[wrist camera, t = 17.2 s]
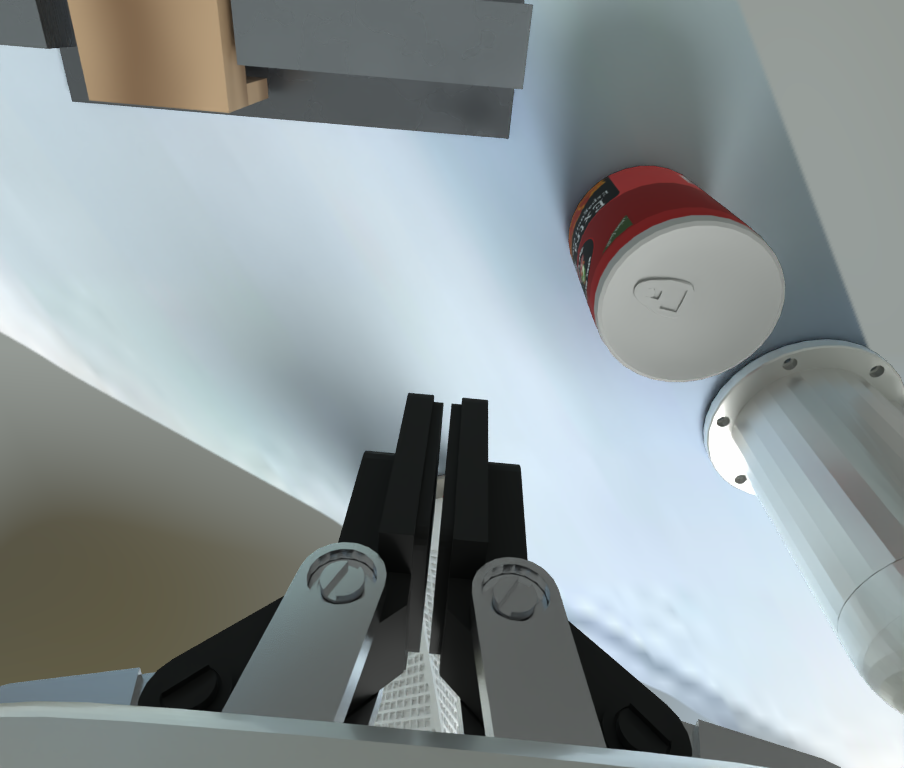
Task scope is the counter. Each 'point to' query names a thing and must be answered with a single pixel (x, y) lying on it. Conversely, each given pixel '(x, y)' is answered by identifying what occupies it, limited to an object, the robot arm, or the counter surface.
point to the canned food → (673, 275)
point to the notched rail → (347, 59)
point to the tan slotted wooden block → (163, 54)
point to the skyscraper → (422, 668)
